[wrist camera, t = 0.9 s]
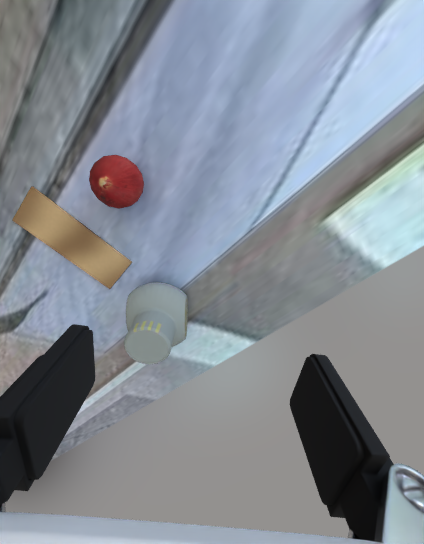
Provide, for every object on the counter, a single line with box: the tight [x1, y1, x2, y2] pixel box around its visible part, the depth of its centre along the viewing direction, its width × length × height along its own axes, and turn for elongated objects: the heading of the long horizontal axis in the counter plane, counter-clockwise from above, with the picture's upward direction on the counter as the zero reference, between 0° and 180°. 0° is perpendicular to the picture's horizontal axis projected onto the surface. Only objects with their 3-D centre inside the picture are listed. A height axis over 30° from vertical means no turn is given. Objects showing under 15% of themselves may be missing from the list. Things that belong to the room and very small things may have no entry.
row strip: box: [13, 187, 132, 289], centre depth 34 cm, size 16×6×1 cm, turn 48°
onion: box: [89, 155, 144, 208], centre depth 27 cm, size 6×6×8 cm
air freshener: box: [124, 282, 188, 364], centre depth 34 cm, size 11×8×10 cm
